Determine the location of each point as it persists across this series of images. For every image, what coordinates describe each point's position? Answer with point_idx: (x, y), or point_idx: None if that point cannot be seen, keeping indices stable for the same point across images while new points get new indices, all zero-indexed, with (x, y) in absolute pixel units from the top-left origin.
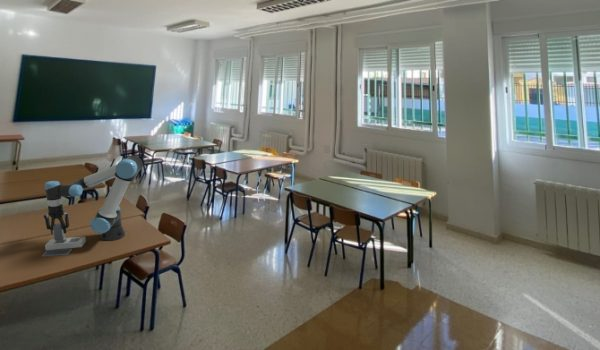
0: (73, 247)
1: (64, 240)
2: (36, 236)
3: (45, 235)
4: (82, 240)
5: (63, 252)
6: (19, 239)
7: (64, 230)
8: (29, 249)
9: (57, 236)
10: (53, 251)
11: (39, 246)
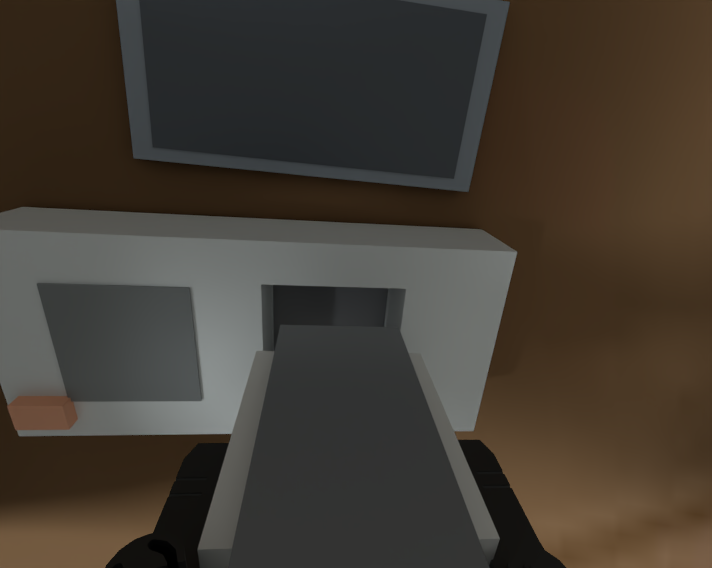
0: (141, 213)
1: None
2: (589, 557)
3: None
4: None
5: (212, 34)
6: (703, 528)
7: (185, 520)
8: (641, 314)
9: (357, 373)
10: (376, 135)
11: (554, 364)
